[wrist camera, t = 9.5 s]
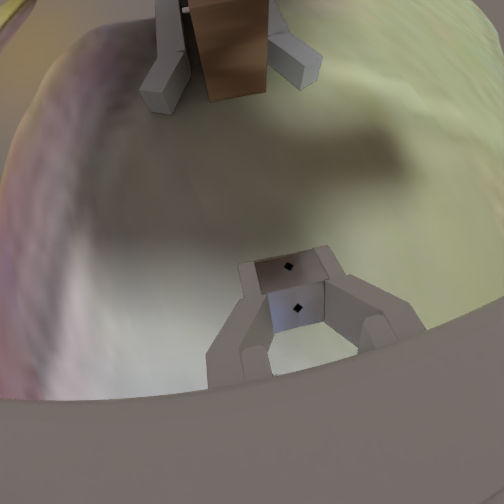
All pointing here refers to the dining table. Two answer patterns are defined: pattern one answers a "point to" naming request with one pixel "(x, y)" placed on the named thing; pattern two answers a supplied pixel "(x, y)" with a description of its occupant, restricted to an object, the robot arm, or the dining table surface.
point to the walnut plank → (232, 45)
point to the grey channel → (178, 64)
